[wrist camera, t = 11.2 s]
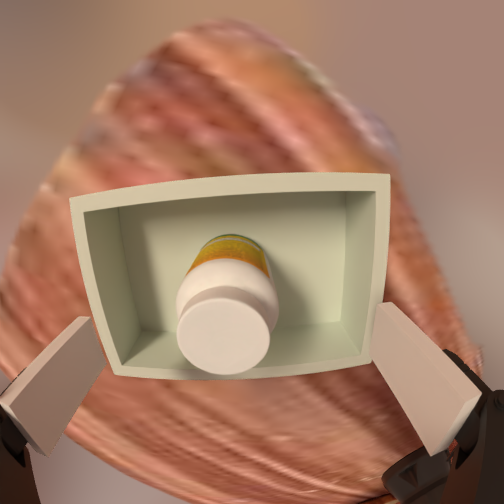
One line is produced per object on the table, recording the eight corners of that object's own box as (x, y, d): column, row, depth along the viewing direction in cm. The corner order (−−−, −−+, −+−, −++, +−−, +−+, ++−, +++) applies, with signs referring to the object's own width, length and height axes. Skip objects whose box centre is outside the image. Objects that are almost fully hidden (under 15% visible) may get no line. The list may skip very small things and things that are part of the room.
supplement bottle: (279, 283, 21) (305, 363, 11) (216, 309, 21) (200, 398, 12) (249, 218, 19) (255, 260, 10) (183, 249, 20) (137, 312, 10)
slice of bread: (417, 486, 41) (421, 495, 38) (362, 513, 44) (365, 521, 40) (408, 477, 37) (412, 487, 34) (342, 508, 40) (344, 518, 36)
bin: (345, 323, 23) (371, 363, 17) (138, 334, 23) (114, 374, 17) (352, 173, 19) (390, 174, 14) (111, 190, 19) (69, 198, 13)
